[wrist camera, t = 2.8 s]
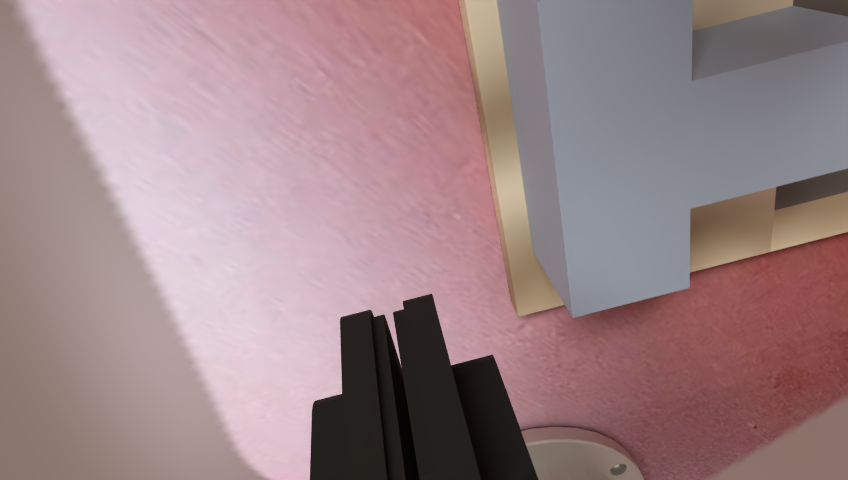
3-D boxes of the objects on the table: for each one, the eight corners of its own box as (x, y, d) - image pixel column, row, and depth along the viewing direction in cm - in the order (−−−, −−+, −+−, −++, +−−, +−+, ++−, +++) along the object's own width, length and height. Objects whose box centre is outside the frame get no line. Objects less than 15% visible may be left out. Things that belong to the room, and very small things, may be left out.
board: (1014, 171, 26) (1042, 181, 25) (511, 300, 26) (518, 316, 25) (1157, -295, 18) (1207, -308, 17) (438, -116, 18) (444, -118, 17)
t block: (776, 188, 24) (863, 242, 20) (532, 251, 24) (572, 318, 20) (801, -94, 19) (925, -96, 15) (494, -17, 19) (537, 1, 15)
